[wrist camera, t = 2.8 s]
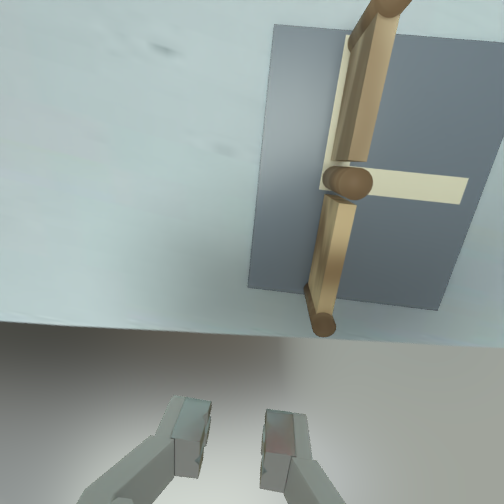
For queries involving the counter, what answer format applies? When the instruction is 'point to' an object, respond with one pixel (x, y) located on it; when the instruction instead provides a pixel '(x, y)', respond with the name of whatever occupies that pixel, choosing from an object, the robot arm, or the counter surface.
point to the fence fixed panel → (362, 96)
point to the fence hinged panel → (328, 262)
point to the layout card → (377, 163)
